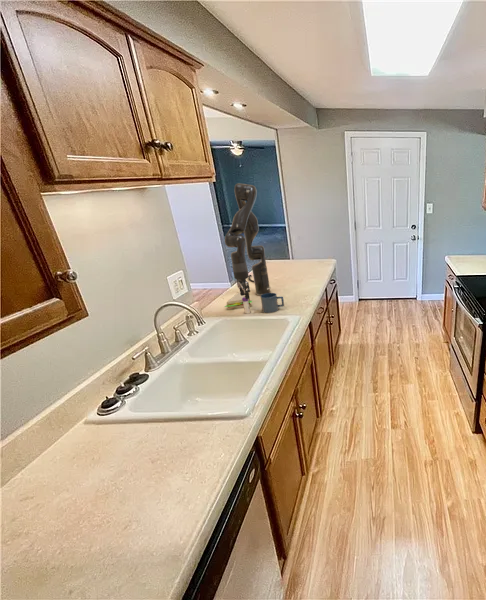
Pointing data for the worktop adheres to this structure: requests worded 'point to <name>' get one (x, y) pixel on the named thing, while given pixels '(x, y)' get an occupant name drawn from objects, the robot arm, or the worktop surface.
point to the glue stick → (246, 305)
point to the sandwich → (236, 302)
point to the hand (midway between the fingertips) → (245, 297)
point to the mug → (270, 302)
